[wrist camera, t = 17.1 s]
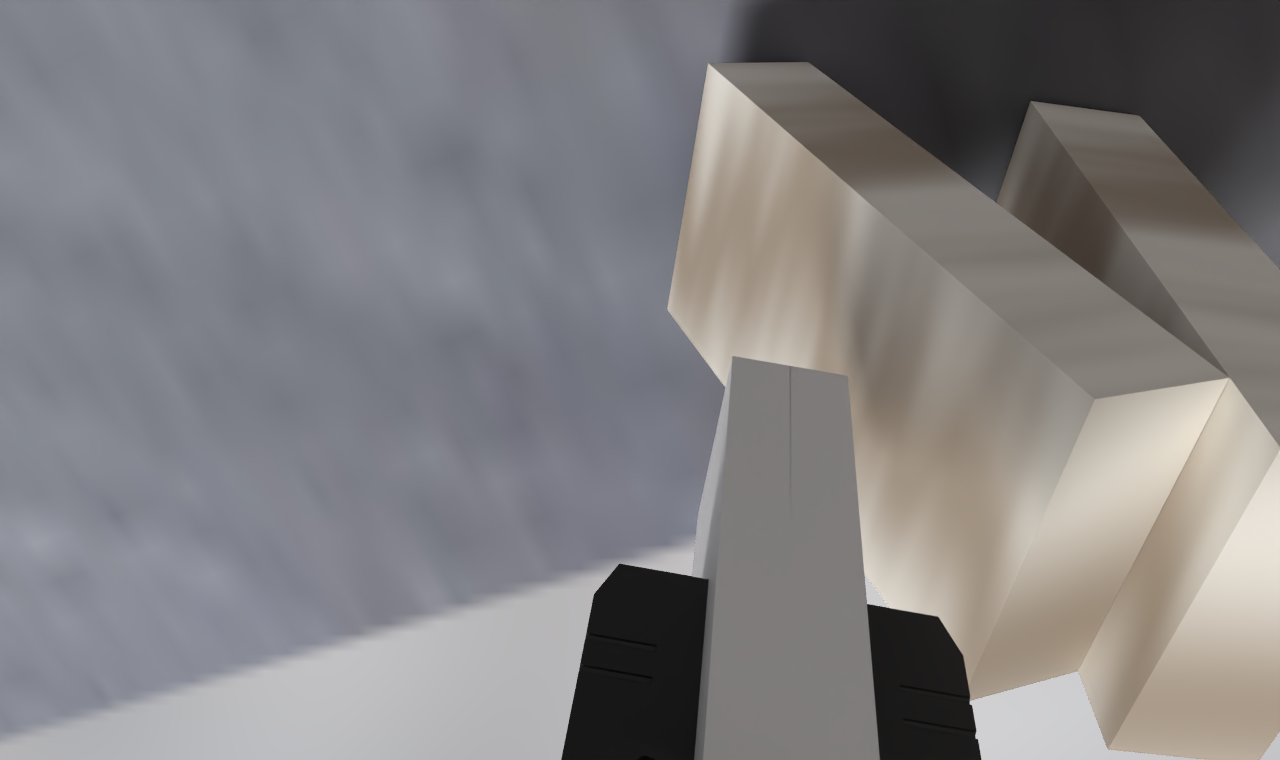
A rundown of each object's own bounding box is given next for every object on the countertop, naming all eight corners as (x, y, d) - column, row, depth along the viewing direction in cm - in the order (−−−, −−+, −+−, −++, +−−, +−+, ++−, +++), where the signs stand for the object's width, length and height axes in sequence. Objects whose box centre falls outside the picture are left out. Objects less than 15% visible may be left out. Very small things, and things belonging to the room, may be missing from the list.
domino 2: (1030, 100, 20) (1281, 448, 12) (1139, 115, 20) (1463, 469, 12) (950, 336, 23) (1107, 749, 15) (1046, 348, 23) (1256, 764, 15)
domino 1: (708, 63, 19) (1095, 399, 12) (808, 61, 20) (1229, 378, 13) (667, 309, 22) (960, 703, 15) (756, 300, 23) (1077, 671, 16)
